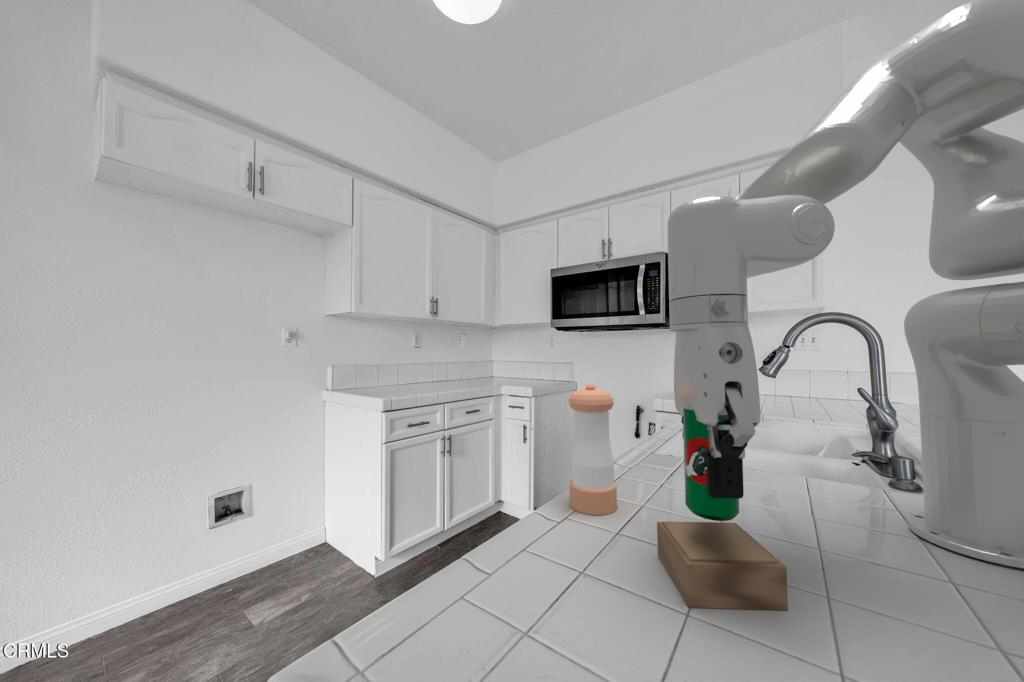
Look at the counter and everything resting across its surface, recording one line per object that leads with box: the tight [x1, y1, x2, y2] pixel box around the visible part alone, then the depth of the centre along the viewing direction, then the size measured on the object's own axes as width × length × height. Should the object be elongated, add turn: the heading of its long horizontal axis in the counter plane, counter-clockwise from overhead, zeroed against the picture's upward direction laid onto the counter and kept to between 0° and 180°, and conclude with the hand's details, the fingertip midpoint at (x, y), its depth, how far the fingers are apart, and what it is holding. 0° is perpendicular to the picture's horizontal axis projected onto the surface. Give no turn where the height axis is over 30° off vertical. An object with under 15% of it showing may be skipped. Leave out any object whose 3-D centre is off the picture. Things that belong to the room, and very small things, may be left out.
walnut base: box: [656, 521, 789, 611], centre depth 40 cm, size 9×9×4 cm
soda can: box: [682, 404, 740, 522], centre depth 40 cm, size 5×5×12 cm
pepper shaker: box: [568, 383, 618, 516], centre depth 59 cm, size 7×7×19 cm
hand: (711, 484), depth 40 cm, fingers closed on soda can, 5 cm apart
